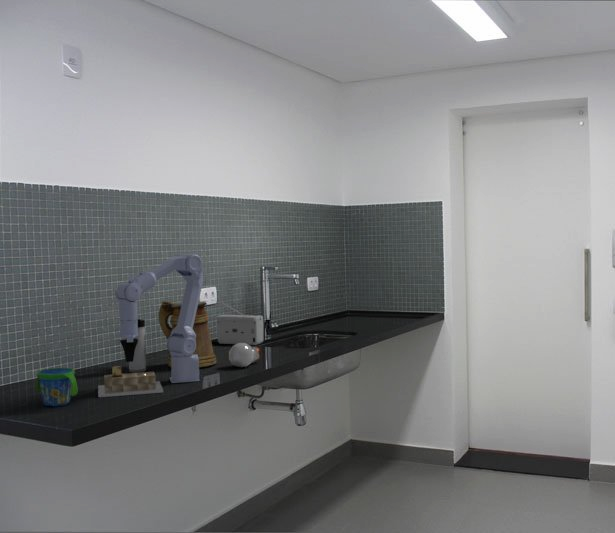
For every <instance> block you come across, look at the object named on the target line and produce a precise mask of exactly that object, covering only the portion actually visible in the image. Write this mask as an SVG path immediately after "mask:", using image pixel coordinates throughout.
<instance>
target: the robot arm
mask: <svg viewBox="0 0 615 533" xmlns="http://www.w3.org/2000/svg"><path fill="white" fill-rule="evenodd" d="M203 268H204V261H203V260H202V258H201V257H200V255H198V254H197V253H189V254H188V253H186V254H185V253H176V254H175V255H173V256H171V257H169V258H168V259H167V260H166V261H164V262H163V263H161V264H160V265H159V266H158V267H156V268H154V269H153V270H151V271H147V270H145V271H143V270H142V271H140V272H139V274H138V275H137V276H135V277H133V278H129V279H128V281H127V283H126V282H122V283H120V284H119V285H118V286H117V288H116V291H115V292H114V295H115V298H116V299H117V300H118V314H119V333H115V336H116V337H119V338H120V337H121V338H124V339H120V340H119V342H120V345H121V346H122V349H123V352H124V354H123V355H124V358H125V361H126V363H129V362H133V359H134V352H135V348H136V345H137V343H138V339H136V338H135V339H133V338H134V337H136V336H138V335H139V334H138V320H137V319H138V300H139V299H140V298H141V296H142V294H144V293H145V292H147V291H149V290H150V289H152V288H153V287H155V285H156V283H157V281H158V280H160V279H161V278H164V277H166V276H168V275H169V274H171V273H172V272H175V271H176V272H177V273H178V274H179V275H180V276H182V278H183V279H184V280H185V283H186V284H185V288H184V293H183V296H182V301H181V303H182V306H181V310H180V314H179V319H178V323H177V326H176V327H175V328H174V329H173V330H172V331H171V335H170V337H169V338H168V340H167V339H166V349H167V350H168V351H169V355H171V367H170V369H171V371H170V372H171V377H169V380H170V382H171V384H179V383H192V382H200V367H199V359H198V355H197V354H194V355H193V352H194V351H195V349H196V334H195V332H194V331H193V325H194V320H195V315H196V311H197V306H198V302H200V296H201V292H202V289H203V288H202V287H203V283H204V274H203Z"/></svg>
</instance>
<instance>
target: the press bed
mask: <svg viewBox="0 0 615 533" xmlns="http://www.w3.org/2000/svg"><path fill="white" fill-rule="evenodd" d="M97 387H98V388H97V395H98V398H109V397H121V396H122V397H123V396H134V395H149V394H159V393H164V389H163V386H162V384H161V382H160V381H159V380H158V381H156V388H145V389H132V390H119V391H106V392H105V384H102V385H99V384H98V386H97Z"/></svg>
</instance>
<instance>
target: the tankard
mask: <svg viewBox="0 0 615 533" xmlns="http://www.w3.org/2000/svg"><path fill="white" fill-rule="evenodd" d="M207 305H208V304H207V302H206V301H199V302H198V306H197V311H196V315H195V320H194V325H193V331H194V332H195V334H196V349H195V351H194V352H193V355H194V354H197V355H198V359H199V368H204V367H209V366H213V365H216V363H217V357H216V354H215V353H214V347H213V344H212V338H211V334H210V328H209V322H208V321H209V315H208V314H209V313H208V312H207V310H206V307H205V306H207ZM181 306H182V302H172V301H166V300H162V302H161V304H160V307H159V310H158V323H159V326H160V328H161V330H162V333H163V334H164V336H165V338H166V341H167V340H168V338H169V337H170V335H171V331H172V330H173V329H174V328H175V327H176V326H177V323H178V319H179V314H180V310H181ZM169 318H170V321H169ZM169 323H170V324H171V326H170V324H169ZM167 365H168V367H170V368H171V355H170V354H168V355H167Z"/></svg>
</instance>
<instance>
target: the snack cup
mask: <svg viewBox="0 0 615 533" xmlns="http://www.w3.org/2000/svg"><path fill="white" fill-rule="evenodd" d="M75 372H76V371H75V369H73V368H70V367H56V368H55V367H54V368H53V367H52V368H45V369H41V370H40V371H37V374H36V376H37V377H36V381H35V390H36V391H37V392H41V397H42V402H43V403H42V404H43V405H44V406H48V407H62V406H63V407H64V406H67V405H68V404H69V403H70V401H71V397H74V396H76V395H77V394H78V391H79V387H78V384H77V379H76V377H75V375H76V374H75Z"/></svg>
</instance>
